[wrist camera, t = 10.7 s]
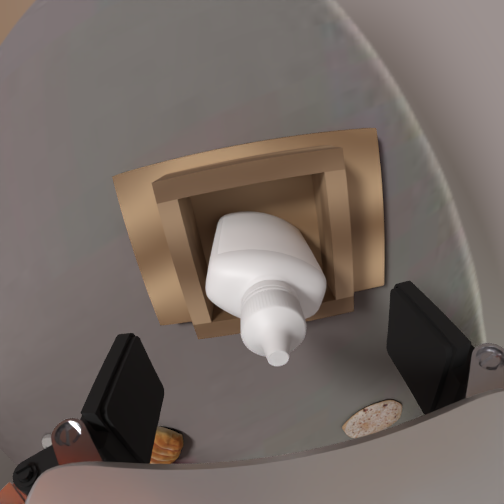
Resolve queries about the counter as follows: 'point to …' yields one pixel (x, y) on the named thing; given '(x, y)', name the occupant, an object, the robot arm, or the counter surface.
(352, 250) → the holder stand
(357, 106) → the counter surface
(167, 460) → the pastry
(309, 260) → the eye dropper bottle
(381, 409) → the flatbread
